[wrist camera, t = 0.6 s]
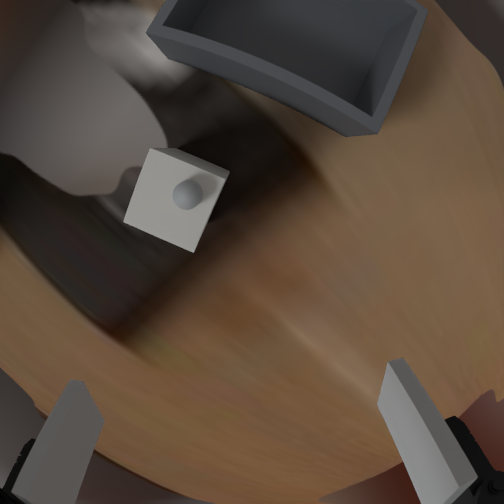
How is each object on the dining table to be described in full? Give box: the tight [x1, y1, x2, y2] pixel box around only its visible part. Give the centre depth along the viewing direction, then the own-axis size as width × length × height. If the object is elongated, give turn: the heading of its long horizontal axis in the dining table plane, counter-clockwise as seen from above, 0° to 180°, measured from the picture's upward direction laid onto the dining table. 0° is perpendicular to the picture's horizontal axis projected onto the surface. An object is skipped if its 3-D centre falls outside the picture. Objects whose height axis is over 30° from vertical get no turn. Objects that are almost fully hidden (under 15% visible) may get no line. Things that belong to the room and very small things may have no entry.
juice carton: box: [124, 148, 230, 253], centre depth 25 cm, size 6×6×10 cm
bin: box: [146, 0, 428, 137], centre depth 21 cm, size 20×15×8 cm
